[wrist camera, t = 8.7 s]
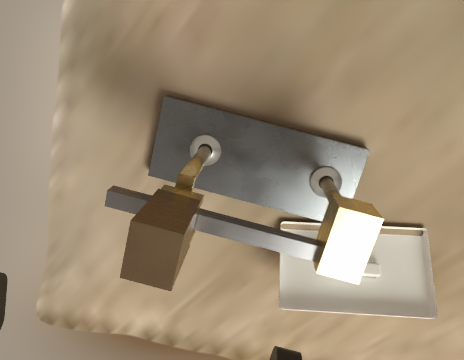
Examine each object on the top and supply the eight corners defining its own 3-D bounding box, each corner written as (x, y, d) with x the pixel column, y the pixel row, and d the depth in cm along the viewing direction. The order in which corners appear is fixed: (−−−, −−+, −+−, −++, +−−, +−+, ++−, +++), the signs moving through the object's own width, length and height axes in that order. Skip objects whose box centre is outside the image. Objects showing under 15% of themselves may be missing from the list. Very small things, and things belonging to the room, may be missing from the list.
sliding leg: (221, 150, 37) (189, 213, 21) (209, 198, 39) (170, 291, 22) (190, 142, 37) (135, 198, 21) (179, 190, 39) (119, 277, 22)
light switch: (276, 311, 41) (421, 320, 40) (279, 307, 37) (442, 318, 36) (278, 230, 44) (412, 237, 43) (281, 218, 40) (430, 226, 39)
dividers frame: (346, 172, 37) (384, 219, 26) (329, 220, 39) (358, 284, 27) (157, 122, 38) (110, 146, 26) (147, 171, 39) (98, 215, 27)
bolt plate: (366, 148, 38) (371, 151, 37) (340, 222, 41) (343, 228, 39) (166, 95, 38) (162, 96, 37) (151, 172, 41) (146, 176, 39)
